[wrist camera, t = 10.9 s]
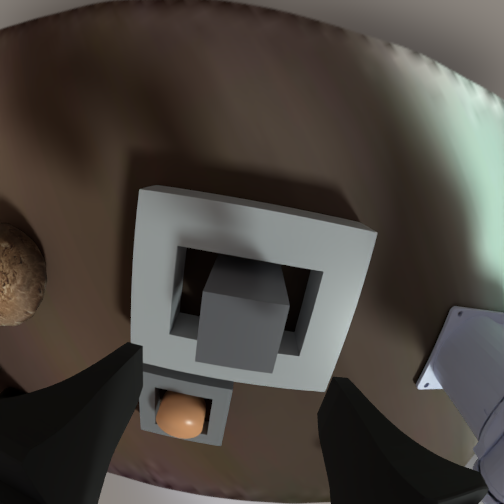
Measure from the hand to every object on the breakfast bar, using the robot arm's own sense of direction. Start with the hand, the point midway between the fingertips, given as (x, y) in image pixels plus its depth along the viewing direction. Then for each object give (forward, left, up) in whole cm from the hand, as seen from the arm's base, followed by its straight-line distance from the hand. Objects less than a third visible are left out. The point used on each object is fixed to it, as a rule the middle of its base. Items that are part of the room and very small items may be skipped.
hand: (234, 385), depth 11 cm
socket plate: (0, 0, -10) cm, 10 cm away
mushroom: (+18, +2, -10) cm, 21 cm away
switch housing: (+3, +11, -10) cm, 15 cm away
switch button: (+3, +11, -9) cm, 15 cm away
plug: (0, 0, -10) cm, 10 cm away
